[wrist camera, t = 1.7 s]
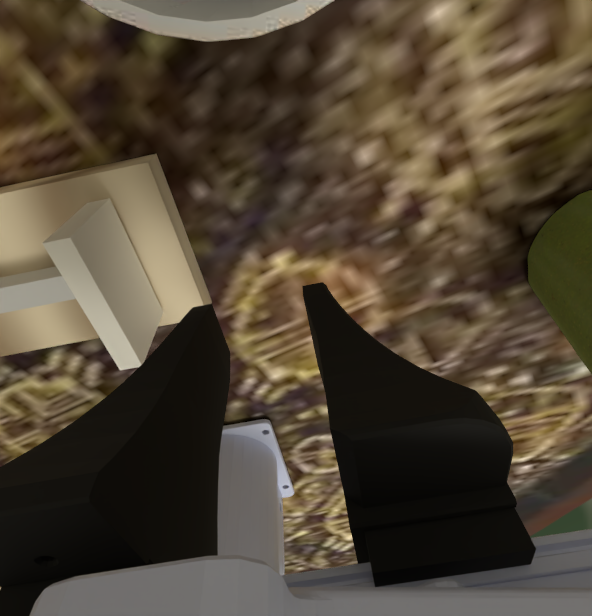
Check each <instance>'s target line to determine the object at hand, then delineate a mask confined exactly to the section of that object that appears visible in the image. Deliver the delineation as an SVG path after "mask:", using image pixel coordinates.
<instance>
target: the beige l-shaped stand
mask: <svg viewBox="0 0 592 616" xmlns="http://www.w3.org/2000/svg"><path fill="white" fill-rule="evenodd" d="M108 198H110V200H111V202H112V204H113V206H114V208H115V210H116V212H117V214H118V217H119V219H120V221H121V223H122V225H123V227H124V229H125V231H126V234H127V236H128V238H129V240H130V242H131V244H132V246H133V248H134V251H135V253H136V255H137V257H138V259H139V261H140V263H141V265H142V268H143V270H144V272H145V274H146V276H147V278H148V280H149V283H150V285H151V287H152V289H153V291H154V293H155V295H156V297H157V300H158V302H159V304H160V306H161V308H162V310H163V315H162V317H161V320H160V322H159V325H158V327H159V326H164V325H169V324H175V323H179V322H180V321H181V320H182V319H183V318H184V316H185V315H186V314H187V313H188V312H189V311H190V310H191V309H192V308H193V307H197V306H202V305H207V304H211V303H212V300H211V298H210V295H209V292H208V290H207V287H206V284H205V282H204V279H203V276H202V274H201V271H200V268H199V266H198V263H197V260H196V258H195V255H194V252H193V250H192V247H191V244H190V242H189V239H188V236H187V234H186V231H185V228H184V226H183V223H182V220H181V218H180V215H179V212H178V210H177V207H176V204H175V202H174V199H173V196H172V194H171V191H170V188H169V186H168V183H167V180H166V178H165V175H164V172H163V170H162V167H161V164H160V162H159V159H158V156H157V154H152V155H148V156H143V157H138V158H134V159H129V160H124V161H120V162H115V163H111V164H106V165H101V166H97V167H92V168H87V169H83V170H78V171H73V172H69V173H64V174H60V175H55V176H50V177H46V178H41V179H36V180H32V181H27V182H23V183H18V184H13V185H9V186H4V187H0V278H1V277H6V276H11V275H16V274H21V273H26V272H30V271H35V270H40V269H45V268H50V267H55V266H56V265H55V264H54V262H53V260H52V259H51V257H50V255H49V254H48V252H47V251H46V249H45V247H44V246H43V244H42V243H43V242H44V241H45V240H46V239H48V238H49V237H50V236H51V235H52V234H53V233H54V232H55V231H56V230H58V229H59V228H60V227H61V226H62V225H63V224H64V223H65V222H66V221H68V220H69V219H70V218H71V217H72V216H73V215H74V214H75V213H76V212H78V211H79V210H80V209H81V208H82V207H83V206H84V205H85V204H87V203H89V202H94V201H98V200H103V199H108ZM96 338H100V337H99V335H98V334H97V332H96V331H95V329H94V327H93V326H92V324H91V322H90V321H89V319H88V317H87V316H86V314H85V313H84V311H83V309H82V308H81V306H80V304H79V303H78V301H77V300H76V299H72V300H67V301H62V302H57V303H52V304H47V305H42V306H37V307H32V308H26V309H21V310H16V311H11V312H6V313H1V314H0V357H1V356H6V355H12V354H17V353H22V352H27V351H33V350H38V349H43V348H48V347H54V346H59V345H64V344H69V343H75V342H80V341H85V340H90V339H96Z"/></svg>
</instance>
